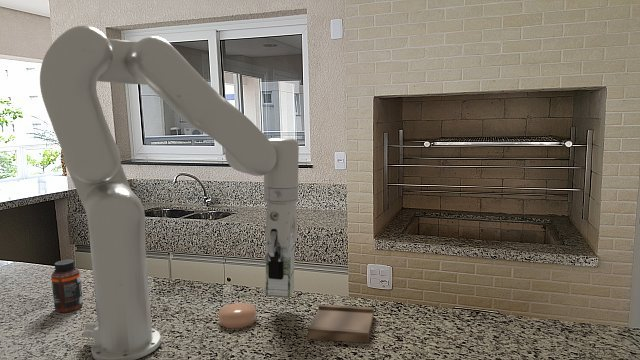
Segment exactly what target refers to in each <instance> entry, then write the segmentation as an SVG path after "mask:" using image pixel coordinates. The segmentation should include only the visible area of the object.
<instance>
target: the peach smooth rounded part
mask: <svg viewBox="0 0 640 360" xmlns="http://www.w3.org/2000/svg"><path fill="white" fill-rule="evenodd" d="M218 322H219V323H218V324H219V325H220V326H222V327H223V328H227V329H242V328H247V327H250V326H252V325H253V324H255V322H257V307H256V306H255V305H254V304H252V303H247V302H235V303H230V304H229V303H228V304H226V305H224V306H222V307H221V308H219V309H218Z"/></svg>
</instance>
